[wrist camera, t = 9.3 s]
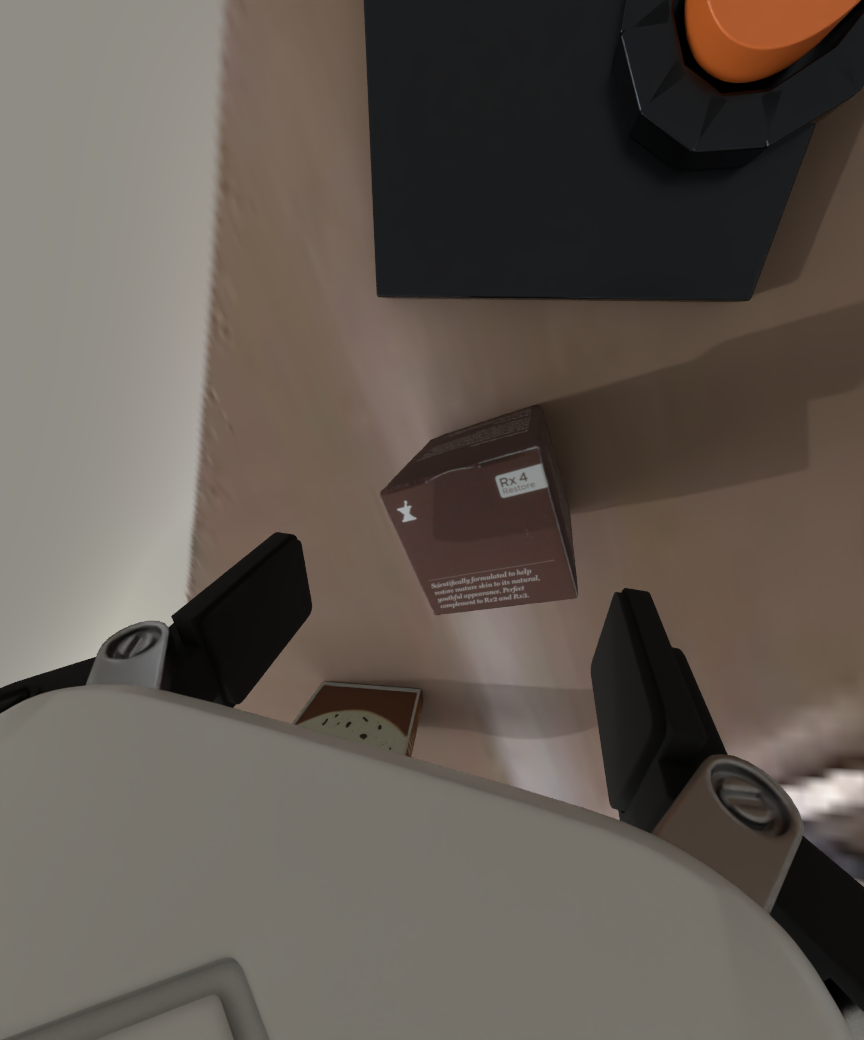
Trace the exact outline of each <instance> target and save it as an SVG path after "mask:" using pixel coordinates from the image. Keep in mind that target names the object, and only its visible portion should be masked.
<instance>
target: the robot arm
mask: <svg viewBox="0 0 864 1040" xmlns="http://www.w3.org/2000/svg"><path fill="white" fill-rule="evenodd" d="M311 610H312V601H311V596H310V590H309V584H308V579H307V573H306V567H305V561H304V556H303V550H302V544H301V542H300V541H299V540H297V537H296V536H295V535H293V534H286V533H280V532H276V533H274V534H273V535H271V536H270V537H269V538H268V539H266V540H265V541H264V542H263V543H261V544H260V545H259V546H258V547H256V548H255V549H254V550H253V551H252V552H250V553H249V554H248V555H247V556H245V557H244V558H243V559H242V560H240V561H239V562H238V563H237V564H235V565H234V566H233V567H232V568H230V569H229V570H228V571H227V572H225V573H224V574H223V575H222V576H221V577H219V578H218V579H217V580H216V581H214V582H213V583H212V584H211V585H209V586H208V587H207V588H206V589H204V590H203V591H202V592H201V593H199V594H198V595H197V596H196V597H195V598H193V599H192V600H191V601H190V602H188V603H187V604H186V605H185V606H183V607H182V608H181V609H180V610H178V611H177V612H176V613H175V614H174V615H172V616H171V617H172V619H173V621H174V623H173V624H172V625H171V626H170V627H168V626H167V625H166V624H165V623H163V622H160V621H145V622H140V623H137V624H134V625H131V626H128V627H126V628H124V629H122V630H120V631H118V632H117V633H115V634H114V635H112V636H111V637H109V638H108V639H107V641H105V642H104V643H103V644H102V646H101V648H100V649H99V651H98V654H97V656H96V657H94V658H91V659H88V660H85V661H81V662H78V663H75V664H72V665H69V666H65V667H62V668H59V669H56V670H53V671H49V672H46V673H43V674H40V675H36V676H33V677H31V678H27V679H24V680H21V681H17V682H15V683H12V684H10V685H7V686H4V687H2V688H0V1040H864V887H863V886H862V885H861V884H860V883H858V882H857V881H856V880H855V879H854V878H852V877H851V876H850V875H849V874H848V873H846V872H845V871H844V870H843V869H842V868H841V867H839V866H838V865H837V864H836V863H835V862H833V861H832V860H831V859H830V858H829V857H827V856H826V855H825V854H824V853H823V852H821V851H820V850H819V849H818V848H817V847H816V846H814V845H813V844H812V843H811V842H810V841H808V840H807V839H806V838H805V837H804V836H802V834H803V823H802V820H801V817H800V813H799V811H798V809H797V808H796V806H795V804H794V803H793V801H792V799H791V798H790V796H789V795H788V794H787V793H786V792H785V791H784V790H783V788H782V787H781V786H780V785H779V784H778V783H777V782H776V781H775V780H774V779H772V778H771V777H770V776H769V775H768V774H766V773H765V772H764V771H763V770H761V769H759V768H758V767H756V766H755V765H753V764H751V763H750V762H748V761H745V760H743V759H740V758H738V757H735V756H731V755H727V752H726V750H725V748H724V745H723V743H722V741H721V738H720V736H719V734H718V731H717V729H716V727H715V725H714V722H713V720H712V718H711V715H710V713H709V711H708V708H707V706H706V704H705V701H704V699H703V697H702V694H701V692H700V690H699V687H698V685H697V683H696V680H695V678H694V676H693V673H692V671H691V669H690V666H689V664H688V662H687V659H686V657H685V655H684V654H683V652H682V651H681V650H680V649H678V648H673V647H671V645H670V642H669V640H668V637H667V635H666V632H665V630H664V627H663V625H662V622H661V620H660V617H659V615H658V612H657V610H656V607H655V605H654V602H653V600H652V597H651V595H650V593H649V592H647V591H641V590H635V589H628V588H624V589H623V590H622V593H619V592H615V594H614V596H613V598H612V601H611V605H610V608H609V611H608V614H607V617H606V620H605V623H604V626H603V629H602V632H601V635H600V638H599V642H598V645H597V648H596V651H595V654H594V657H593V660H592V664H591V678H592V685H593V692H594V699H595V706H596V713H597V720H598V727H599V734H600V741H601V748H602V754H603V761H604V768H605V775H606V782H607V789H608V796H609V802H610V805H611V807H612V808H614V809H617V810H618V811H619V817H620V821H619V820H617V819H614V818H611V817H608V816H605V815H602V814H600V813H597V812H594V811H591V810H588V809H586V808H582V807H579V806H576V805H572V804H569V803H566V802H562V801H559V800H556V799H553V798H549V797H546V796H543V795H539V794H536V793H533V792H530V791H526V790H523V789H520V788H516V787H513V786H510V785H506V784H503V783H499V782H496V781H492V780H489V779H485V778H482V777H478V776H475V775H471V774H468V773H464V772H461V771H457V770H453V769H450V768H446V767H443V766H439V765H436V764H432V763H429V762H425V761H422V760H418V759H415V758H411V757H408V756H404V755H401V754H397V753H394V752H390V751H386V750H383V749H379V748H376V747H372V746H369V745H365V744H361V743H358V742H354V741H351V740H347V739H344V738H340V737H336V736H333V735H329V734H326V733H322V732H318V731H315V730H311V729H308V728H304V727H300V726H297V725H293V724H290V723H286V722H282V721H279V720H275V719H271V718H268V717H264V716H260V715H257V714H253V713H249V712H246V711H242V710H238V709H235V708H233V707H234V706H235V705H236V704H240V703H241V702H242V701H243V700H244V699H245V698H246V697H247V695H248V694H249V693H250V691H251V690H252V689H253V687H254V686H255V685H256V684H257V682H258V681H259V680H260V678H261V677H262V676H263V675H264V673H265V672H266V671H267V669H268V668H269V667H270V666H271V664H272V663H273V662H274V660H275V659H276V658H277V657H278V655H279V654H280V653H281V651H282V650H283V649H284V648H285V646H286V645H287V644H288V642H289V641H290V640H291V639H292V637H293V636H294V635H295V633H296V632H297V631H298V630H299V628H300V627H301V626H302V624H303V623H304V622H305V621H306V619H307V618H308V617H309V615H310V613H311Z"/></svg>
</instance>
